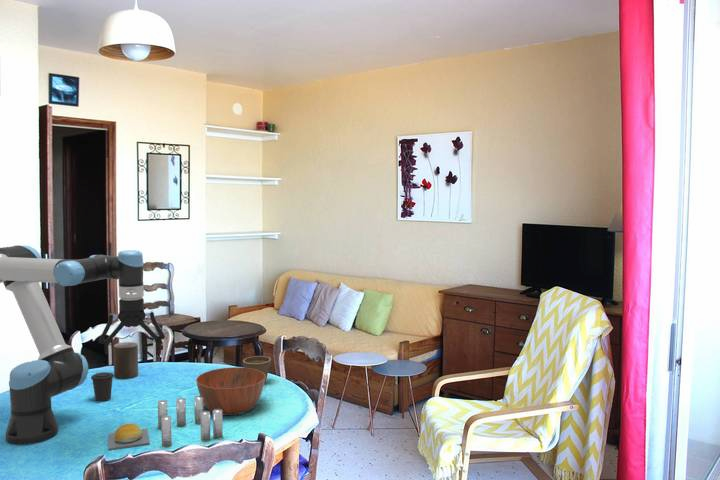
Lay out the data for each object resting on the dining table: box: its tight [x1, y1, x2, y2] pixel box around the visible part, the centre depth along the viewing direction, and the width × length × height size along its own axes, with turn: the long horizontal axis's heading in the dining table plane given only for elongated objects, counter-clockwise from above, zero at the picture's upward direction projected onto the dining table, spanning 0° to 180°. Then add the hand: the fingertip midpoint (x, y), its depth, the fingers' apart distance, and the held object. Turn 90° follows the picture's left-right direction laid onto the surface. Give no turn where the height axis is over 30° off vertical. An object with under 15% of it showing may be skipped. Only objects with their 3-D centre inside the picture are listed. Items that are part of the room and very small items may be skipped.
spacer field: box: [157, 395, 224, 448], centre depth 202 cm, size 19×18×9 cm
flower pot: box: [242, 355, 272, 385], centre depth 253 cm, size 12×11×10 cm
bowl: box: [195, 366, 265, 416], centre depth 225 cm, size 25×25×11 cm
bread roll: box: [114, 423, 142, 443], centre depth 196 cm, size 8×9×4 cm
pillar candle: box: [113, 341, 139, 380], centre depth 261 cm, size 10×10×15 cm
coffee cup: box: [90, 371, 114, 403], centre depth 233 cm, size 8×8×10 cm
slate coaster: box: [108, 428, 150, 451], centre depth 196 cm, size 12×12×1 cm
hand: (132, 362), depth 200 cm, fingers open, 13 cm apart
